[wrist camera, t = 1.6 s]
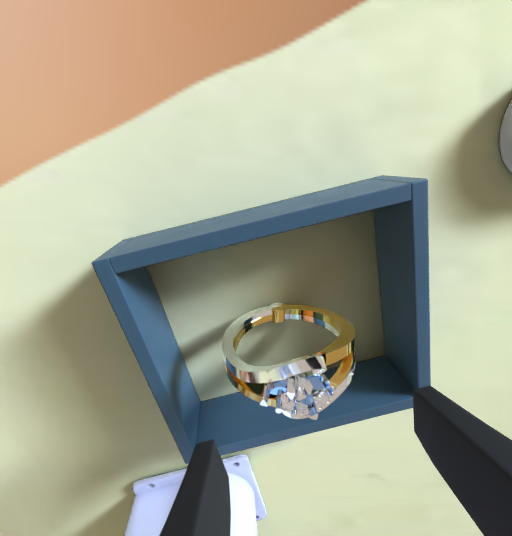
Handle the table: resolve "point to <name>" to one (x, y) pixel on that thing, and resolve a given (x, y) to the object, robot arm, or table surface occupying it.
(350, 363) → the ring
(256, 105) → the table surface
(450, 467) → the robot arm
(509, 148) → the game controller
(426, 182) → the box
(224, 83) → the table surface
